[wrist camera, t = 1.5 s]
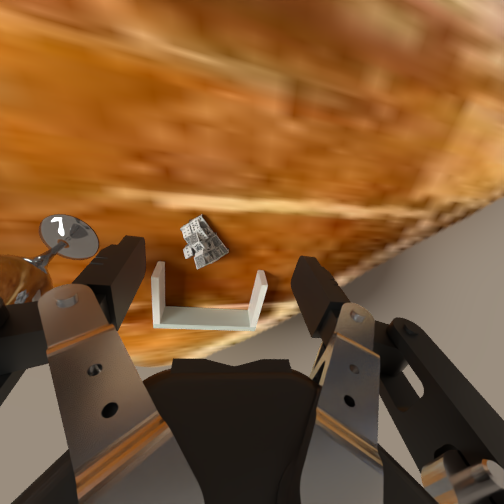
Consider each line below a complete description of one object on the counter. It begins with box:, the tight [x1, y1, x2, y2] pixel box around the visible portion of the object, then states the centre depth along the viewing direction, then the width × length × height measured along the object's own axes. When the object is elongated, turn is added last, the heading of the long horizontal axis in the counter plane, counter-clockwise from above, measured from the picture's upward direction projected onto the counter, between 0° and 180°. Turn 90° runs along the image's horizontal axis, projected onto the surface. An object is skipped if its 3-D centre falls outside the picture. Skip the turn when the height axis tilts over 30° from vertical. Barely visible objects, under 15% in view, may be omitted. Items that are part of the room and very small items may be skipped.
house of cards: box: [180, 214, 229, 269], centre depth 30 cm, size 9×9×8 cm
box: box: [151, 261, 268, 331], centre depth 36 cm, size 10×17×4 cm, turn 79°
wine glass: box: [0, 214, 99, 305], centre depth 24 cm, size 8×8×15 cm
